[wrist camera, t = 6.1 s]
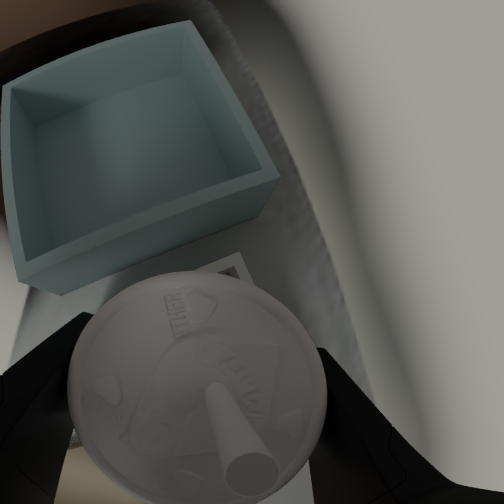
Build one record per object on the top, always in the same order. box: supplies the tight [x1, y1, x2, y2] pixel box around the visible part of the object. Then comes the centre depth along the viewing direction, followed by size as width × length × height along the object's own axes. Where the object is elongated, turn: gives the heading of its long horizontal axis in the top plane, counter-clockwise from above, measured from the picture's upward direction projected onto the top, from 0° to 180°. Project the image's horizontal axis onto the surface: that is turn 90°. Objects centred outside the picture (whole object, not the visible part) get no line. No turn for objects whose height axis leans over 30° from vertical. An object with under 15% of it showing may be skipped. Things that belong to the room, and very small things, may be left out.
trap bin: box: [1, 20, 281, 296], centre depth 15 cm, size 12×12×5 cm
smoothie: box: [67, 271, 327, 504], centre depth 9 cm, size 6×6×14 cm
